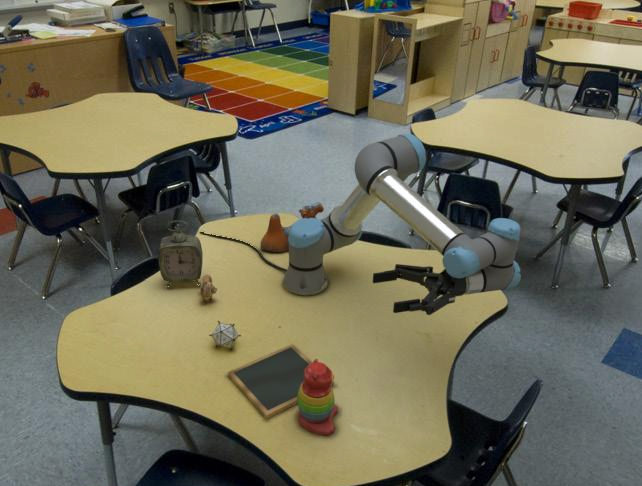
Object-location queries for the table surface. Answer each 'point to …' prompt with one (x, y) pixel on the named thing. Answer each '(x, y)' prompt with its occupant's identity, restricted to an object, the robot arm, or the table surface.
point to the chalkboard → (272, 380)
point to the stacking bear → (317, 399)
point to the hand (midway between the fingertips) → (383, 292)
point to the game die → (225, 335)
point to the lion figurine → (207, 288)
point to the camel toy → (285, 229)
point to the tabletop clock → (180, 257)
